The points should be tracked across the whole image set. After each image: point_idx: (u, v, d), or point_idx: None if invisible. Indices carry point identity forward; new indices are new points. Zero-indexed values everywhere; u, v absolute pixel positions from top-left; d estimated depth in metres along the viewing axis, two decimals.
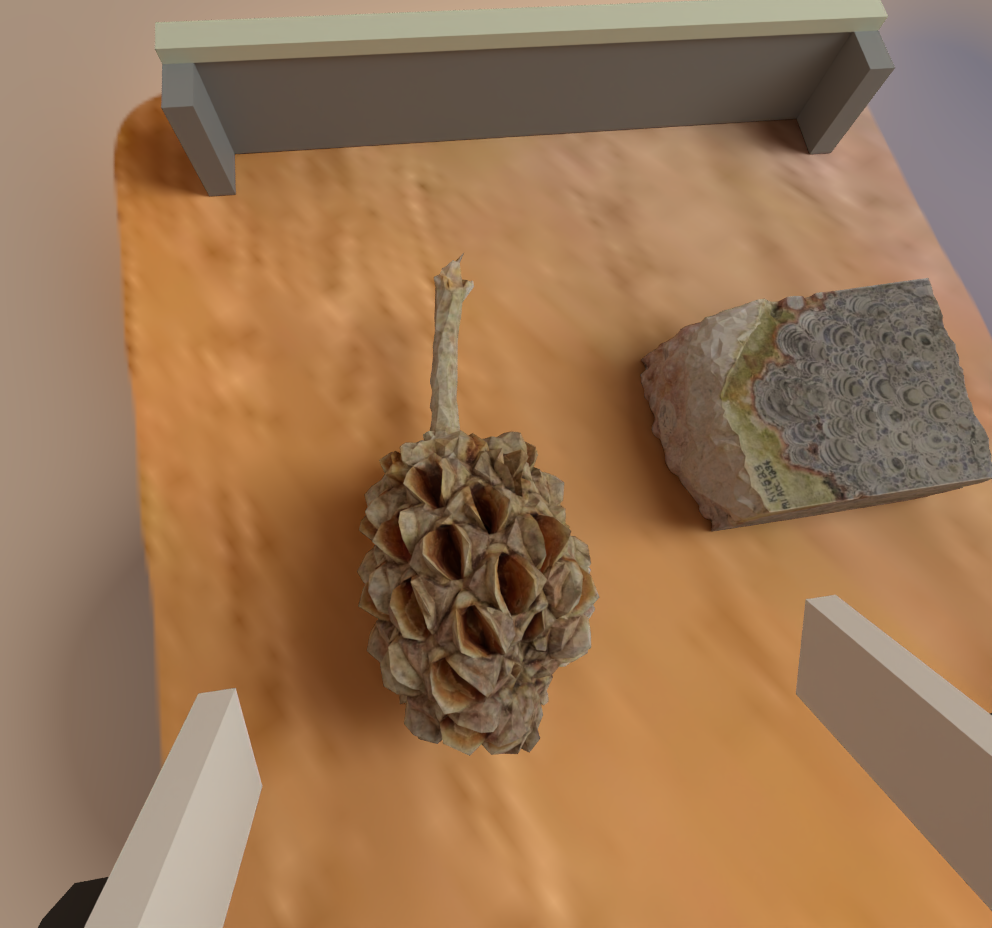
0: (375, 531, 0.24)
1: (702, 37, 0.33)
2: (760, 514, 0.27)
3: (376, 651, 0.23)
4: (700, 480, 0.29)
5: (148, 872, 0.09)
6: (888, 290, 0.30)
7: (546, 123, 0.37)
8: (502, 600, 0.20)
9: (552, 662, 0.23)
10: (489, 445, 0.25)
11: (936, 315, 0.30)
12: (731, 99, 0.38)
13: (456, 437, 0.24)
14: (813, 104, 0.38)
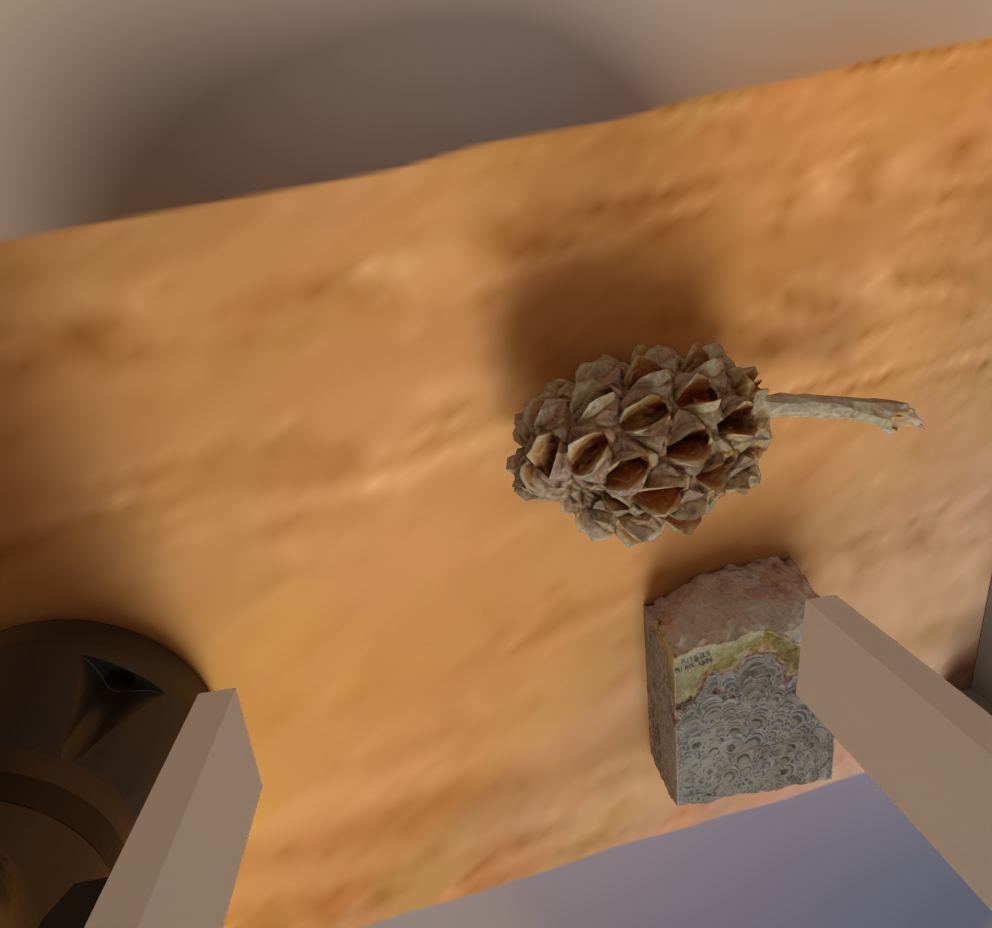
0: (691, 361, 0.28)
1: None
2: (671, 651, 0.34)
3: (597, 369, 0.27)
4: (693, 605, 0.36)
5: (147, 872, 0.09)
6: (828, 751, 0.38)
7: None
8: (650, 489, 0.25)
9: (577, 508, 0.29)
10: None
11: (802, 780, 0.39)
12: None
13: (769, 436, 0.28)
14: (983, 704, 0.44)
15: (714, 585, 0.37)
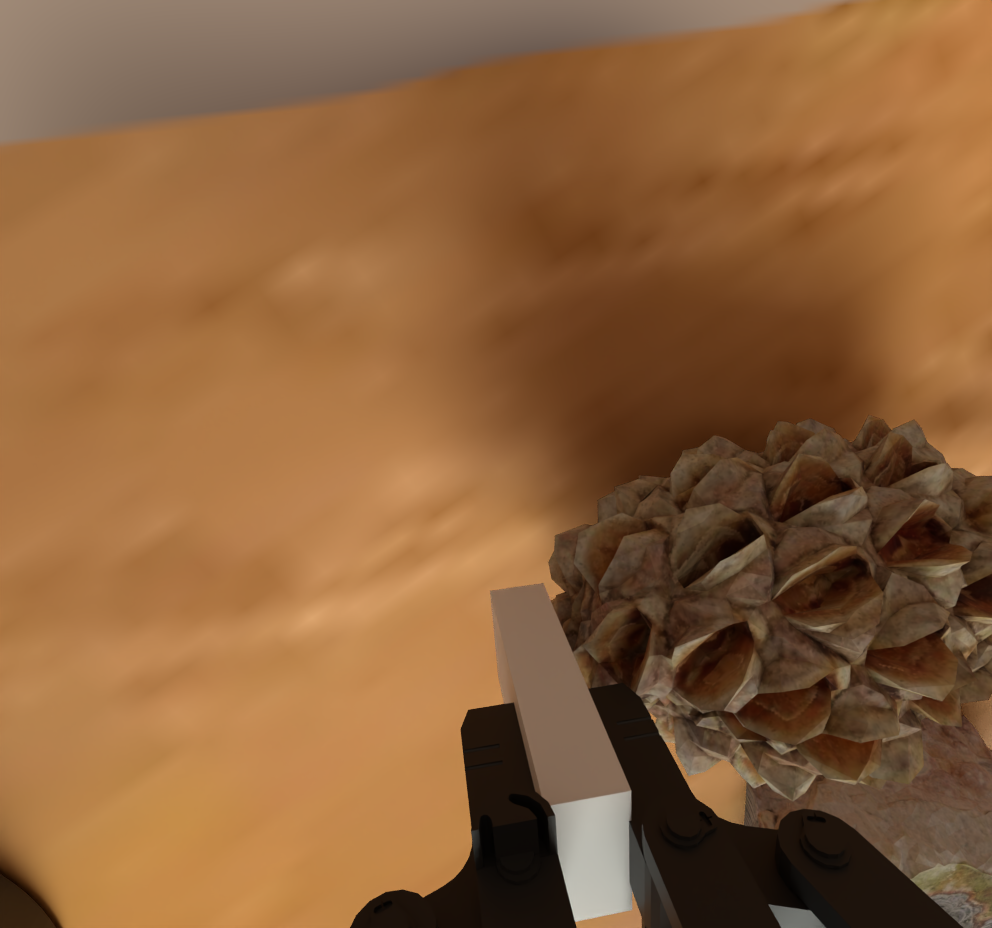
0: (886, 462, 0.15)
1: None
2: None
3: (719, 477, 0.14)
4: (835, 804, 0.23)
5: (546, 692, 0.12)
6: None
7: None
8: None
9: (662, 711, 0.16)
10: None
11: None
12: None
13: None
14: None
15: None
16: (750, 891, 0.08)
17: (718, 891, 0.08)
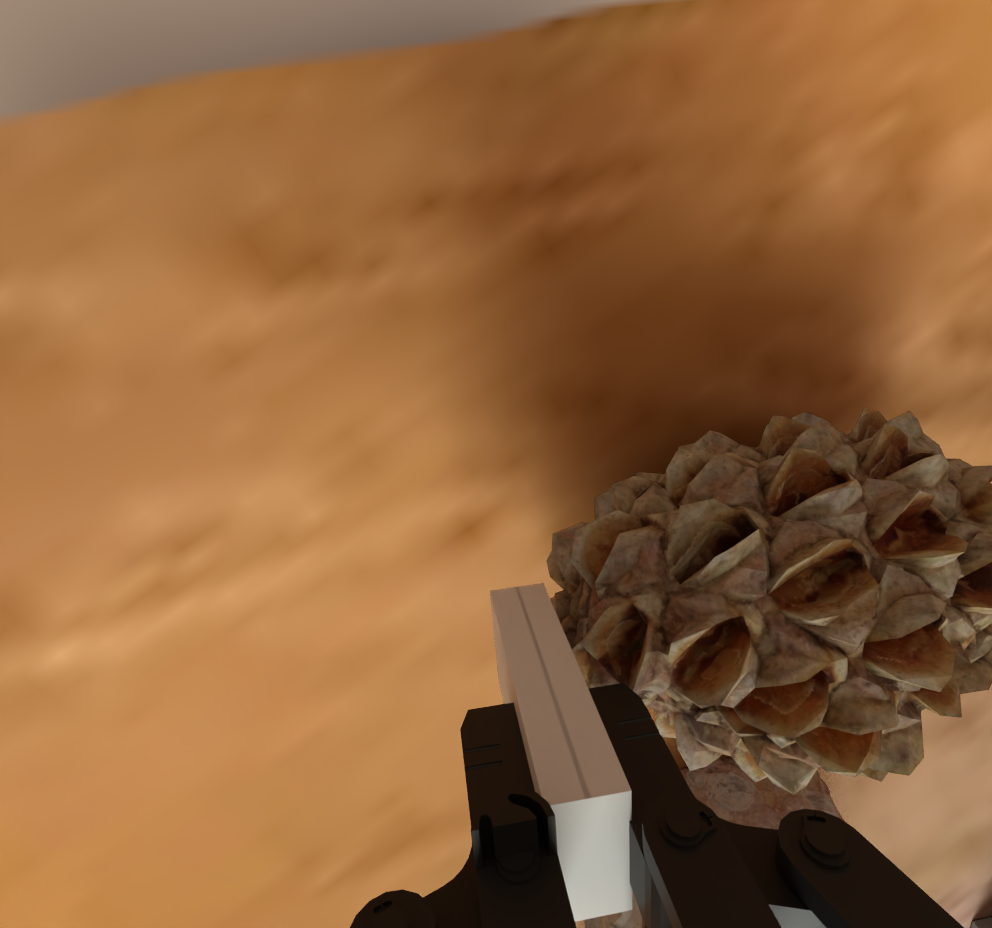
0: (882, 454, 0.15)
1: None
2: None
3: (714, 473, 0.14)
4: None
5: (545, 692, 0.12)
6: None
7: None
8: None
9: (662, 706, 0.16)
10: None
11: None
12: None
13: None
14: None
15: None
16: (750, 891, 0.08)
17: (719, 891, 0.08)
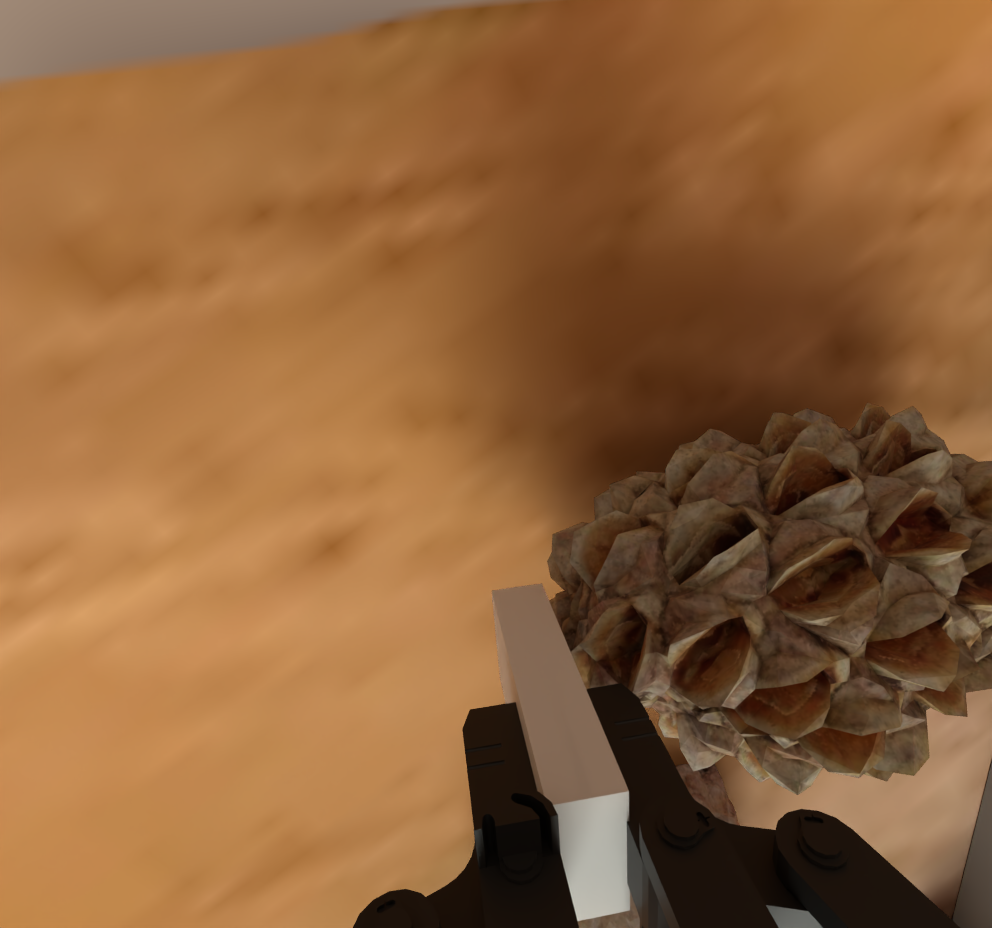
0: (884, 450, 0.15)
1: None
2: None
3: (713, 472, 0.14)
4: None
5: (548, 691, 0.12)
6: None
7: None
8: None
9: (665, 707, 0.16)
10: None
11: None
12: None
13: None
14: None
15: None
16: (748, 891, 0.08)
17: (716, 891, 0.08)
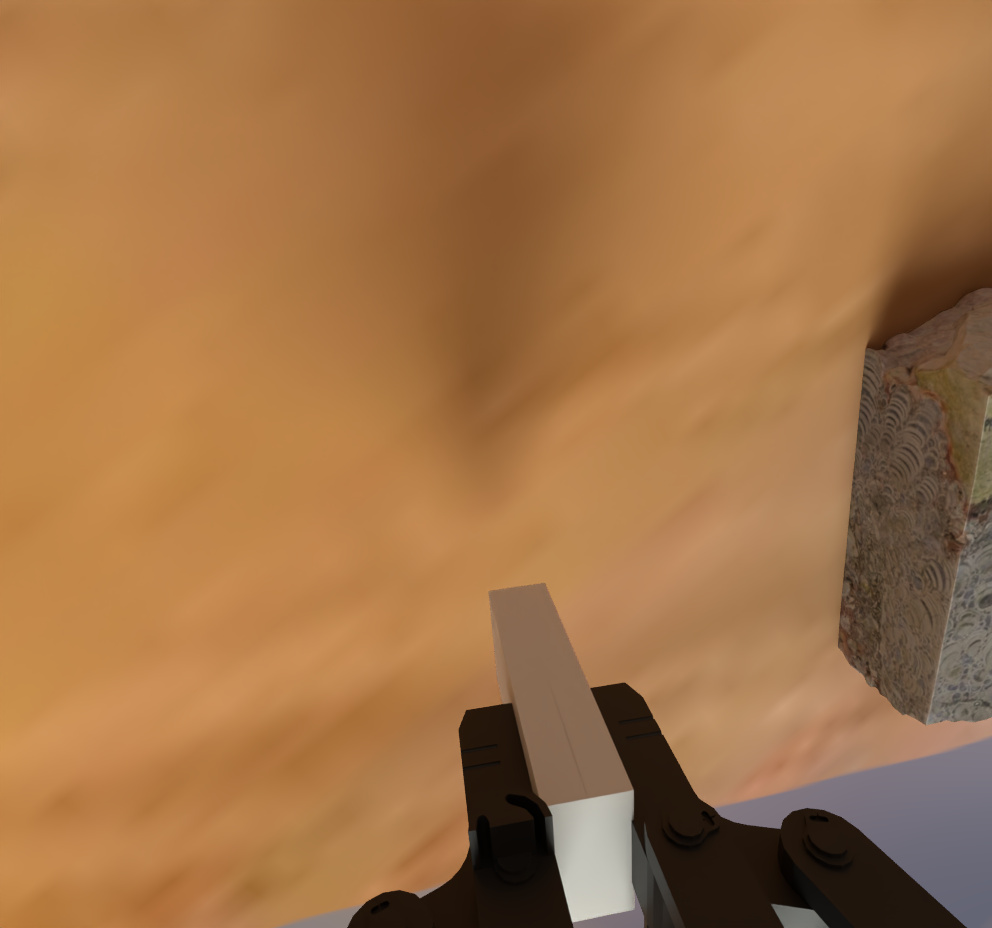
0: None
1: None
2: (976, 385, 0.16)
3: None
4: None
5: (543, 692, 0.12)
6: None
7: None
8: None
9: None
10: None
11: None
12: None
13: None
14: None
15: None
16: (753, 891, 0.08)
17: (721, 891, 0.08)
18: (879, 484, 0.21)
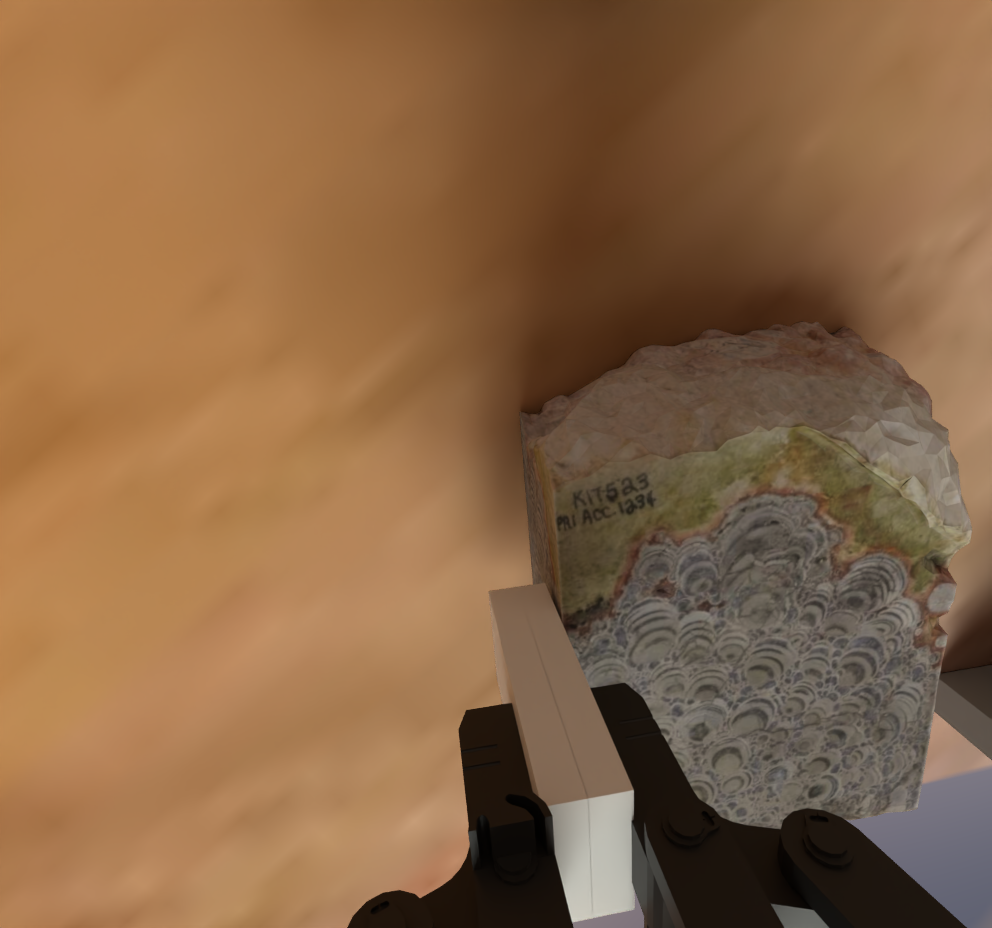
0: None
1: None
2: (549, 474, 0.13)
3: None
4: (620, 385, 0.15)
5: (543, 692, 0.12)
6: (915, 749, 0.17)
7: None
8: None
9: None
10: None
11: (853, 812, 0.18)
12: None
13: None
14: None
15: (675, 361, 0.16)
16: (753, 891, 0.08)
17: (721, 891, 0.08)
18: (537, 570, 0.18)
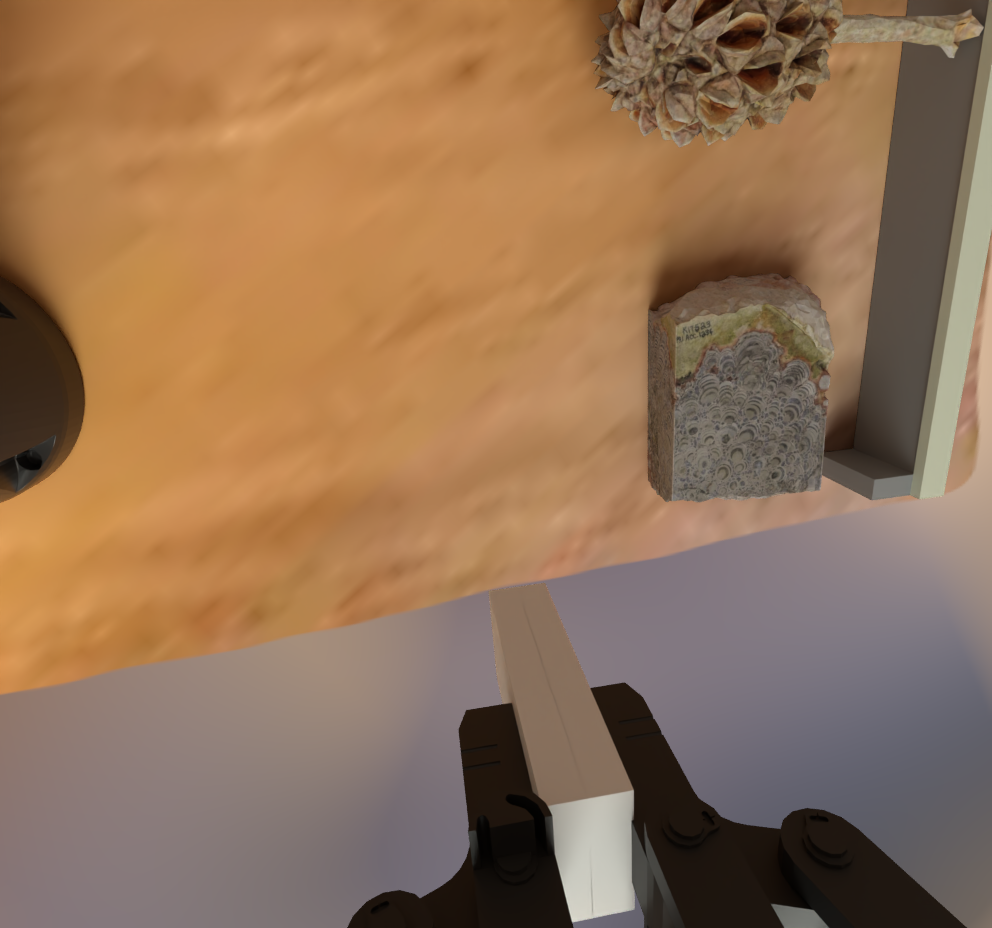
0: None
1: (936, 337, 0.37)
2: (673, 321, 0.36)
3: None
4: (696, 293, 0.38)
5: (543, 692, 0.12)
6: (817, 457, 0.40)
7: (892, 205, 0.40)
8: (735, 24, 0.27)
9: (658, 94, 0.31)
10: (823, 51, 0.31)
11: (791, 488, 0.41)
12: (879, 383, 0.43)
13: None
14: (860, 456, 0.44)
15: (717, 286, 0.39)
16: (753, 891, 0.08)
17: (721, 891, 0.08)
18: (654, 380, 0.41)
